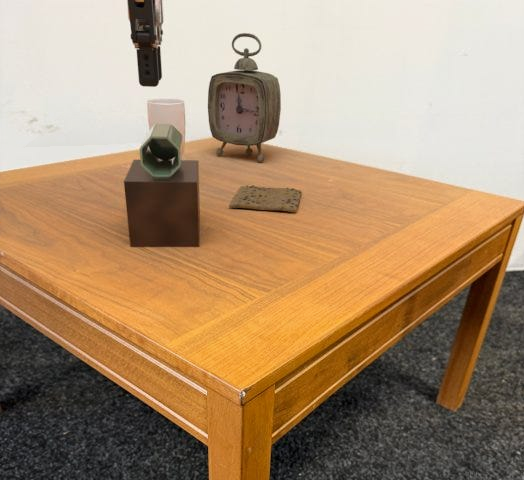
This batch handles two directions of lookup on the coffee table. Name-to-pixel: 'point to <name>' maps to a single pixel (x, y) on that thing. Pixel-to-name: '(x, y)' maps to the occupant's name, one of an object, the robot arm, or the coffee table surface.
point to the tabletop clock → (244, 104)
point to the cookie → (267, 198)
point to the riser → (163, 206)
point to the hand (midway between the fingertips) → (151, 82)
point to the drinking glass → (167, 114)
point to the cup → (162, 150)
